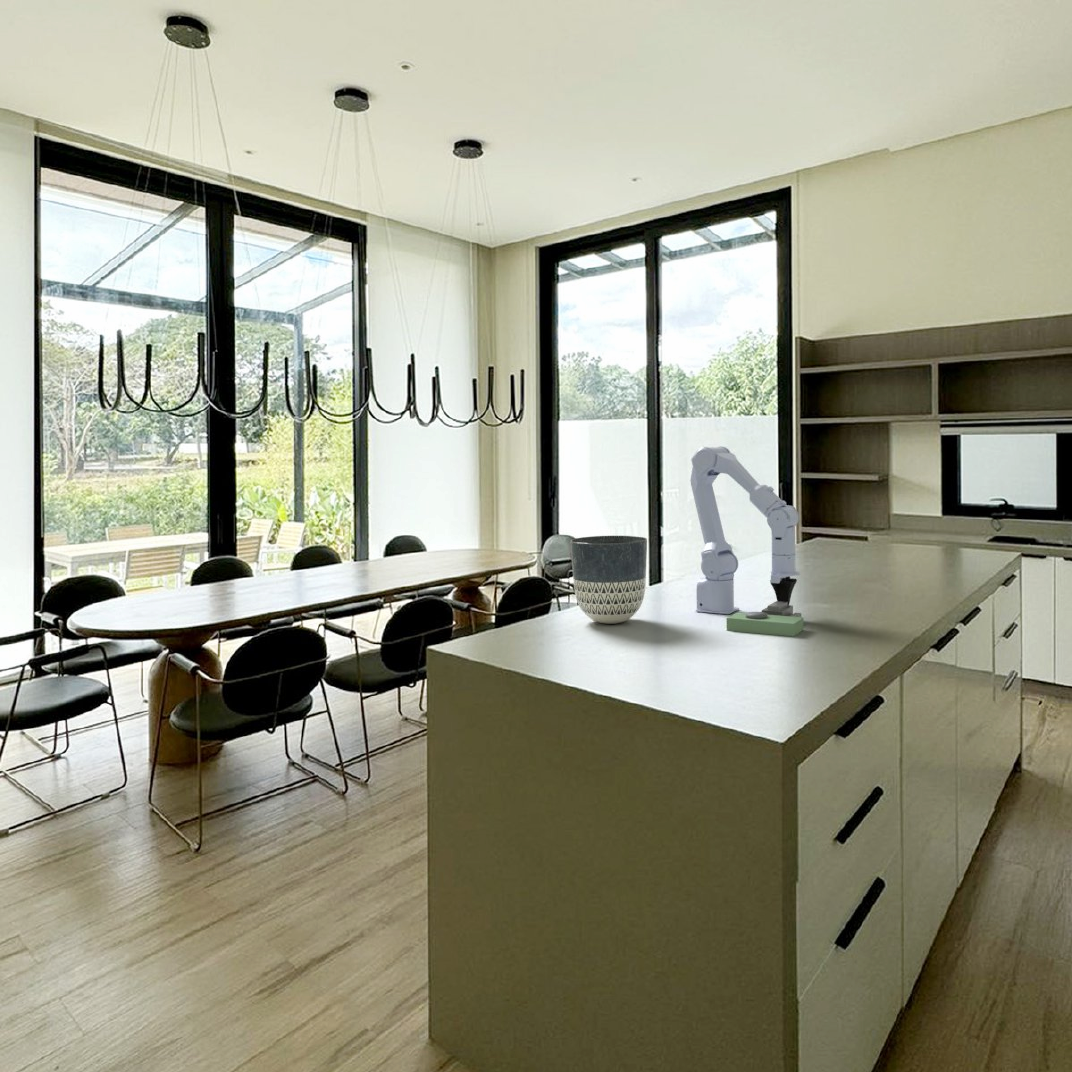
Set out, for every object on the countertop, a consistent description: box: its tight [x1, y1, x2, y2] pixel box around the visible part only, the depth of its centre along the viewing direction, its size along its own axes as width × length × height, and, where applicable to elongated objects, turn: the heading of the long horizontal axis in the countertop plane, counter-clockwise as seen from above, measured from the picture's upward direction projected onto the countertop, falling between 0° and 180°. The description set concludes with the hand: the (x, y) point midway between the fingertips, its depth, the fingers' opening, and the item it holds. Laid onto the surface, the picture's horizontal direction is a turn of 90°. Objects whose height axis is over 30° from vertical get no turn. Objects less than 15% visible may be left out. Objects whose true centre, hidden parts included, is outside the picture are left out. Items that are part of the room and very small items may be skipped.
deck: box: [726, 610, 804, 637], centre depth 202 cm, size 16×18×4 cm
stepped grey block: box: [761, 600, 794, 616], centre depth 206 cm, size 5×9×5 cm, turn 147°
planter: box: [569, 535, 648, 625], centre depth 212 cm, size 20×20×21 cm
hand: (783, 607), depth 210 cm, fingers closed
